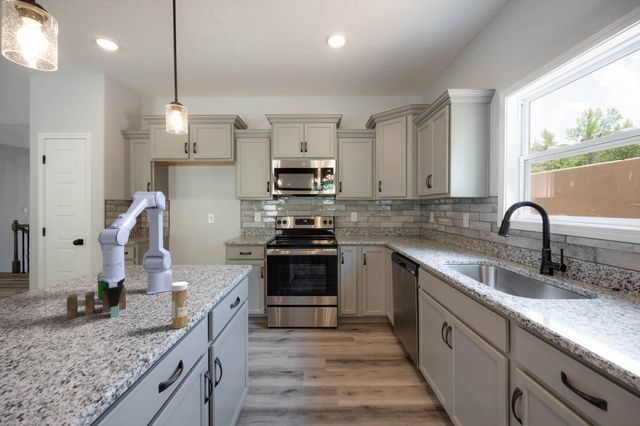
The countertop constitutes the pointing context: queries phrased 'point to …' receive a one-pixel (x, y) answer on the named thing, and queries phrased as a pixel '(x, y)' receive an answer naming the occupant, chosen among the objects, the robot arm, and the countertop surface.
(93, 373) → the countertop surface
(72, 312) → the domino
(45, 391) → the countertop surface
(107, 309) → the domino
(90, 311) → the domino
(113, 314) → the loose domino
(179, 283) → the sprinkles bottle
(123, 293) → the domino
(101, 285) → the soda can
